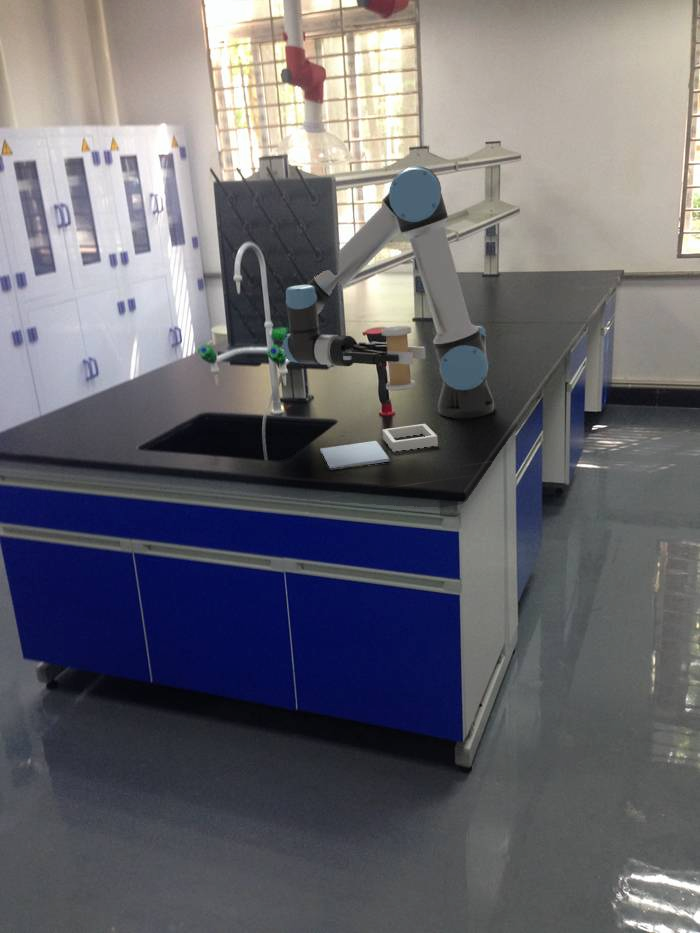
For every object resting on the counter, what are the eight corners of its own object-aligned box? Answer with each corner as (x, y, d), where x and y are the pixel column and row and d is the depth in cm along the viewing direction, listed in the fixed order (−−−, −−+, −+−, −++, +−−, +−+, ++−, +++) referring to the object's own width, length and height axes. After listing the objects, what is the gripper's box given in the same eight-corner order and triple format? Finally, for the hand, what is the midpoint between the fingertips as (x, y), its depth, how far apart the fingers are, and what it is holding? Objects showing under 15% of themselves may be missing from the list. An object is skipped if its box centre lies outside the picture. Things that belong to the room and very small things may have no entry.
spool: (412, 382, 203) (408, 324, 199) (417, 388, 197) (413, 329, 192) (384, 385, 203) (379, 328, 198) (388, 392, 196) (383, 333, 192)
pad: (376, 444, 206) (376, 440, 205) (389, 462, 193) (389, 458, 192) (320, 452, 204) (320, 448, 203) (330, 471, 191) (329, 466, 190)
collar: (425, 433, 211) (424, 423, 210) (437, 445, 201) (437, 436, 200) (383, 439, 209) (382, 429, 208) (393, 452, 199) (392, 442, 198)
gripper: (358, 357, 215) (437, 362, 202) (317, 373, 202) (399, 380, 189) (356, 328, 213) (436, 331, 200) (314, 343, 199) (397, 348, 186)
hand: (418, 355), depth 194 cm, fingers closed on spool, 5 cm apart
